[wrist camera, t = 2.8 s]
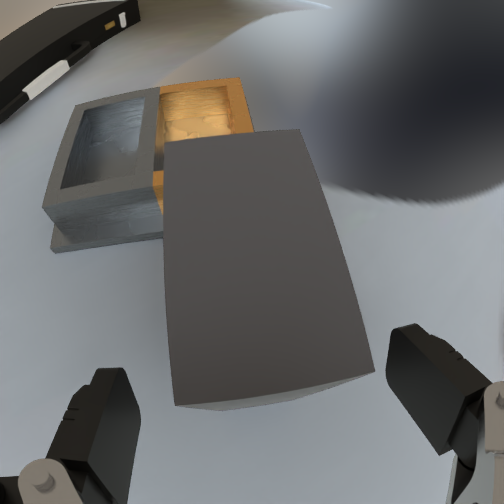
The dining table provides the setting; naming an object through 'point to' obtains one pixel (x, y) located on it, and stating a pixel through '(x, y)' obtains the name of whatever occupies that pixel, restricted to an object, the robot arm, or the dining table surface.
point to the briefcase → (56, 46)
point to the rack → (131, 159)
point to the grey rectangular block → (254, 275)
